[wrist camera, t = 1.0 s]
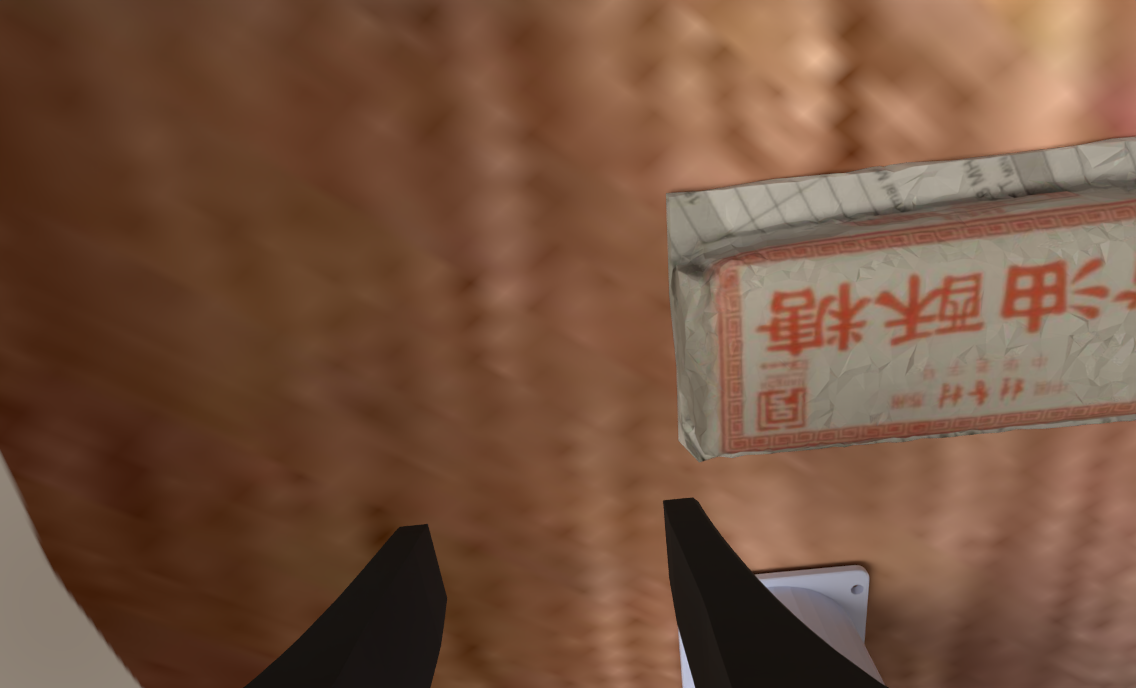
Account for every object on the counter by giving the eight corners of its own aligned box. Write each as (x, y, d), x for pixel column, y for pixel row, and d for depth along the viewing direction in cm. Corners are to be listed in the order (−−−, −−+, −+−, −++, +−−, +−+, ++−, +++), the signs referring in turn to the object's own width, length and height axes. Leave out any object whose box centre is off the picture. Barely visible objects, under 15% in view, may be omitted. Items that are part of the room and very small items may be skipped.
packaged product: (698, 523, 20) (683, 218, 17) (675, 443, 25) (659, 188, 21) (1282, 469, 19) (1410, 133, 16) (1150, 396, 24) (1224, 121, 20)
